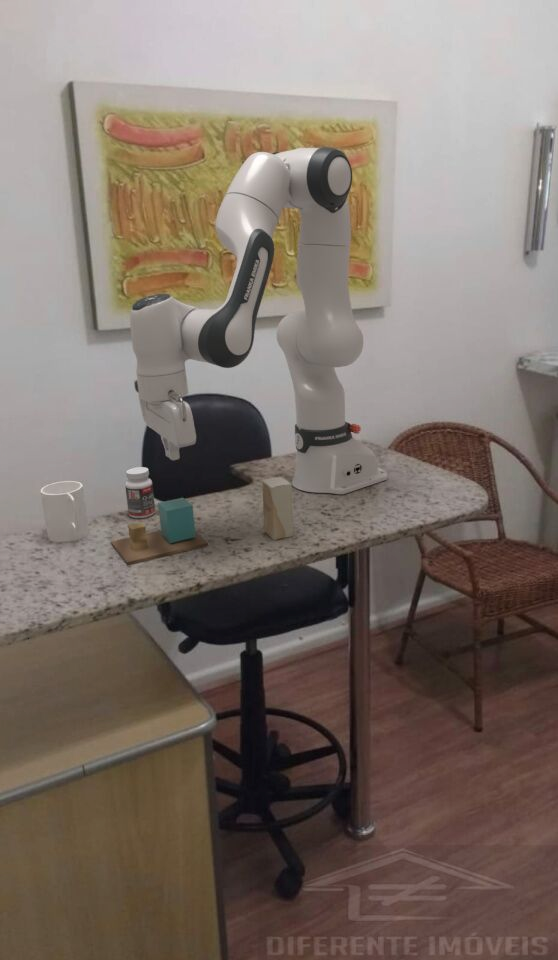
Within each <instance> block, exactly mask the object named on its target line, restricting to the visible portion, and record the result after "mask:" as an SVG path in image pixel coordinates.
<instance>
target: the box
mask: <svg viewBox="0 0 558 960" xmlns="http://www.w3.org/2000/svg"><path fill="white" fill-rule="evenodd" d="M261 486H262V507H263V510H262V511H263V529H264V532H265V533H266V534H267V536H269V537H270V538H271V540H274V541H276V540H282V539H285V538H289V537H293V536H294V528H293V527H294V526H293V525H294V523H293V522H294V521H293V494H292V492H293V491H292V490H293V489H292V486H293V485H292V482H289V481H288V480H287V479H286V478H284V477H282V476H276V477H271V478H270V477H269V478H264V479H261Z"/></svg>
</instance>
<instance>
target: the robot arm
mask: <svg viewBox="0 0 558 960" xmlns="http://www.w3.org/2000/svg"><path fill="white" fill-rule="evenodd" d="M352 183H353V169H352V166H351V162H350V161H349V159H348V157H347V155H346V154H345V152H343V151H342V150H339V149H337V148H334V147H328V146H322V147H297V148H295V149H290V150H286V151H285V150H284V151H281V152H279V151H276V152H275V151H274V152H271V153H270V152H266V151H258V152H254V153H252V154H250V155H249V156H248V157H247V158H246V159H245V161H244V162H243V163H242V165H241V166H240V168H239V169H238V171H237V172H236V174H235V176H234V177H233V179H232V181H231V183H230V185H229V186H228V188H227V191H226V192H225V194H224V197H223V199H222V201H221V204H220V205H219V209H218V211H217V215H216V219H215V223H214V228H215V231H216V236H217V237H218V240H219V241H220V243H221V244H222V246H223V247H224V248H225V249H226V250H228V252H230V253H231V254H233V255H234V256H235V257H236V266H235V270H234V272H233V273H234V274H233V277H232V280H231V283H230V286H229V289H228V292H227V295H226V299H225V301H224V302H223V303H222V305H221V306H219V307H217V308H215V309H214V308H213V309H212V308H205V307H196V306H193V305H190V304H186V303H184V302H181V301H179V300H178V299H176V298H175V297H173V296H172V295H171V294H169V293H156V294H150V295H148V296H144V297H142V298H140V299H138V300H136V302H135V303H133V304H132V307H131V310H130V314H129V316H130V319H129V322H130V338H131V345H132V350H133V353H134V355H135V357H136V372H135V373H136V377H137V378H136V379H135V380H134V382H133V386H134V390H135V392H136V393H138V400H139V405H140V408H141V413H142V417H143V421H144V422H145V425H146V426H147V427H149V428H150V429H151V430H153V431H154V432H155V433H157V434H158V435H159V436H160V439H161V442H162V445H163V447H164V450H165V451H164V452H165V457H167V458H169V459H170V460H171V461H176V460H179V459H180V448H184V447H185V448H186V447H189V446H194V445H195V444H196V443H197V433H196V428H195V422H194V416H193V413H192V409H191V406H190V404H189V403H188V402H187V401H186V400H183V397H185V396H187V395H188V394H189V387H188V379H187V371H186V365H185V363H186V361H188V360H193V361H197V362H203V363H208V364H211V365H215V366H217V367H220V368H225V369H230V368H235V367H237V366H239V365H240V364H242V363H243V362H244V361H245V360H246V359H247V357H248V356H249V354H250V353H251V350H252V348H253V345H254V339H255V333H256V332H255V331H256V322H257V317H258V314H259V310H260V308H261V307H260V306H261V303H262V300H263V296H264V293H265V290H266V286H267V283H268V279H269V277H270V272H271V269H272V265H273V261H274V257H275V243H274V240H273V237H274V234H275V231H276V227H277V225H278V223H279V220H280V218H281V215H282V214H283V213H282V212H283V209H284V208H286V209H295V210H296V209H298V212H299V214H300V223H299V232H298V243H297V259H296V274H295V275H296V277H295V278H296V279H295V280H296V284H297V287H298V289H299V291H300V292H301V295H302V299H303V304H304V310H298V311H295V312H291V313H288V314H287V315H285V316H283V318H282V319H281V320H280V321H279V323H278V325H277V328H276V341H277V343H278V346H279V347H280V349H281V350H282V352H283V354H284V356H285V359H286V363H287V367H288V369H289V373H290V374H289V375H290V377H291V382H292V386H293V391H294V402H295V417H296V419H295V420H296V423H295V424H294V444H295V450H296V458H295V459H296V460H295V467H294V473H293V477H292V478H293V479H292V481H291V486H293V487H294V488H295V489H297V490H300V491H304V492H308V493H316V494H317V493H318V494H321V493H322V494H325V493H326V494H336V495H345V494H349V493H351V492H354V491H357V490H360V489H363V488H365V487H369V486H371V485H375V484H377V483H381V482H383V481H386V480H388V473H387V471H385V470H384V469H383V468H381V467H379V466H378V462H377V457H376V454H375V453H374V451H373V450H372V449H370V448H369V447H368V446H366V445H365V444H364V443H362V442H360V441H359V439H356V438H355V437H353V434H352V433H354V434H360V432H361V426H360V425H358V424H356V423H352V424H351V423H349V422H347V421H346V410H345V409H346V405H345V404H346V403H345V400H346V399H345V394H346V393H345V390H344V389H345V388H344V386H343V384H342V382H341V381H340V380H339V378H338V376H337V372H336V370H335V368H341V367H347V366H348V367H349V366H350V365H352V364H353V363H355V362H356V361H357V360H358V359H359V357H360V355H361V354H362V351H363V348H364V336H363V333H362V330H361V328H360V327H359V325H358V324H357V322H356V319H355V316H354V312H353V309H352V303H351V299H350V298H351V297H350V290H349V275H350V274H349V273H350V271H349V269H350V257H351V239H352V230H351V229H352V224H351V222H352V221H351V212H350V211H351V209H350V204H349V200H348V197H349V194H350V191H351V188H352Z"/></svg>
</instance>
